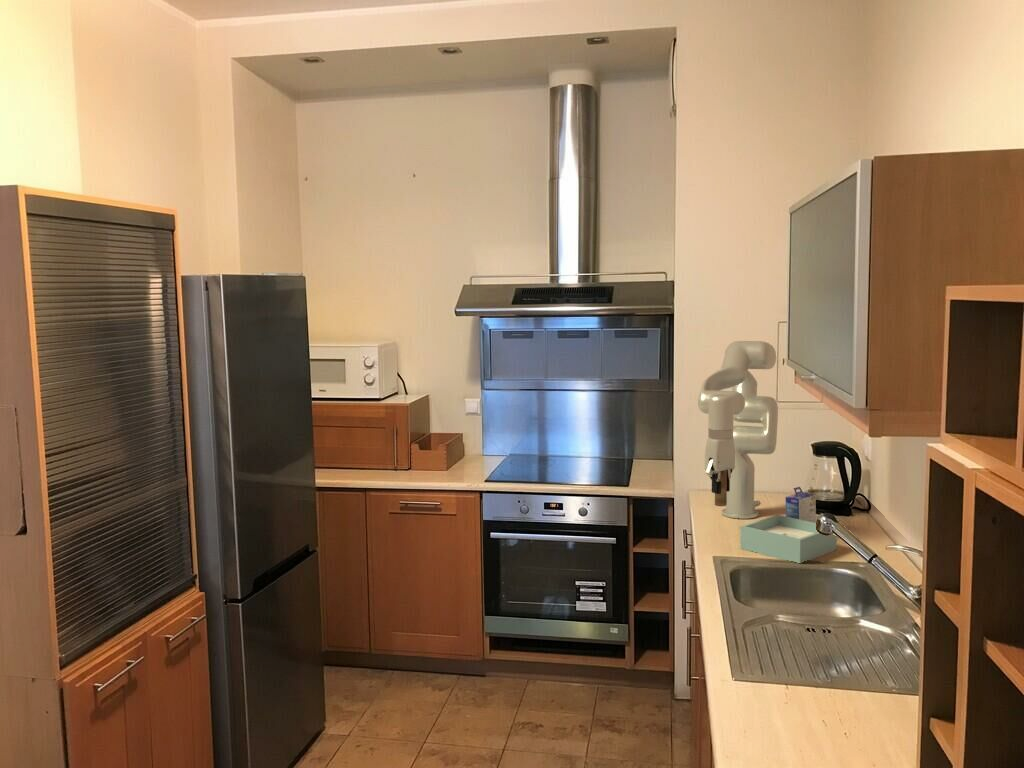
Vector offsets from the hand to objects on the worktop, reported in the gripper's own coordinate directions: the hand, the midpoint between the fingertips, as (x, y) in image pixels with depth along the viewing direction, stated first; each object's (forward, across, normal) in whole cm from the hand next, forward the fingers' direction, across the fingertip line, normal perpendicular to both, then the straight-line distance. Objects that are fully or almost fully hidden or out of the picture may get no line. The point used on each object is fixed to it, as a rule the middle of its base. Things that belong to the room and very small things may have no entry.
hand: (720, 491), depth 259 cm
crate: (+16, -7, +20) cm, 26 cm away
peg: (+4, 0, 0) cm, 4 cm away
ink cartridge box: (+17, -27, +12) cm, 34 cm away
